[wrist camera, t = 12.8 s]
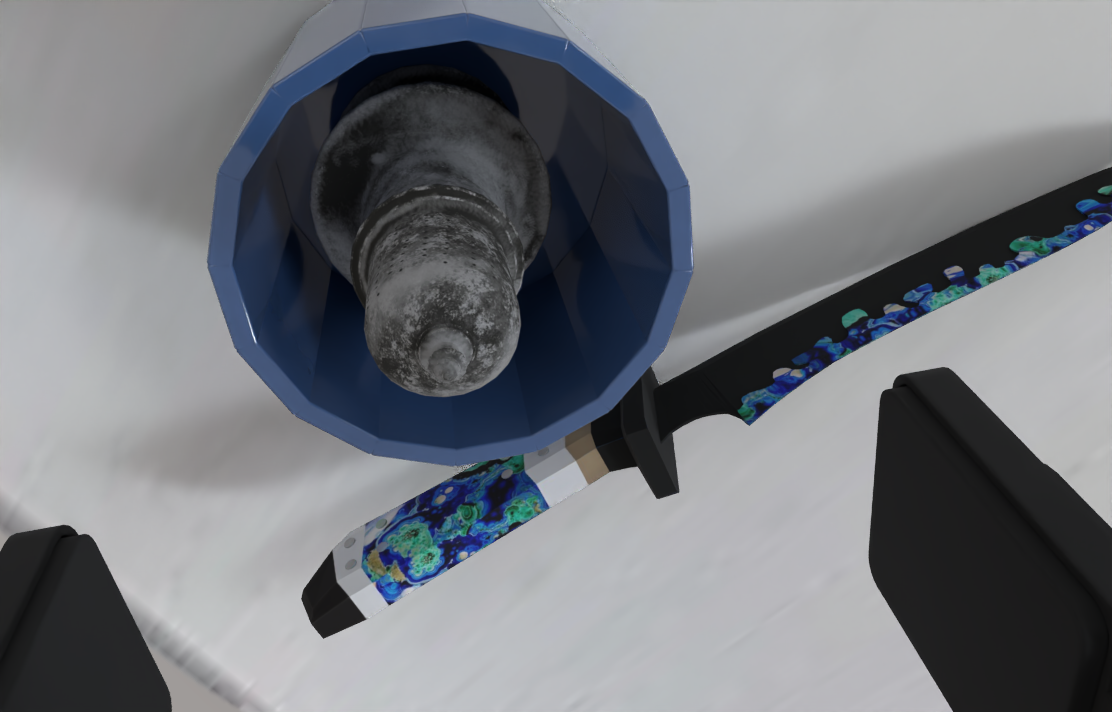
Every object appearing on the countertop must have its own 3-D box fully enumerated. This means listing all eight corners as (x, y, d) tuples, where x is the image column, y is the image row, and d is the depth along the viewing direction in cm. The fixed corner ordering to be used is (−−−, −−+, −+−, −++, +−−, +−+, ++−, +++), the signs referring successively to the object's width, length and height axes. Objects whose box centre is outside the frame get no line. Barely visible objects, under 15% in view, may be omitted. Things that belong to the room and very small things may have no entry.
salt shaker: (554, 231, 27) (646, 470, 17) (359, 281, 27) (333, 553, 17) (507, 28, 24) (585, 167, 14) (288, 82, 24) (205, 263, 14)
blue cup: (214, -3, 24) (137, 63, 17) (600, -61, 24) (679, -20, 17) (313, 340, 29) (284, 499, 22) (631, 284, 29) (702, 421, 22)
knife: (318, 564, 31) (322, 662, 27) (274, 499, 30) (271, 593, 26) (1124, 195, 33) (1236, 239, 29) (1121, 115, 31) (1239, 150, 27)
